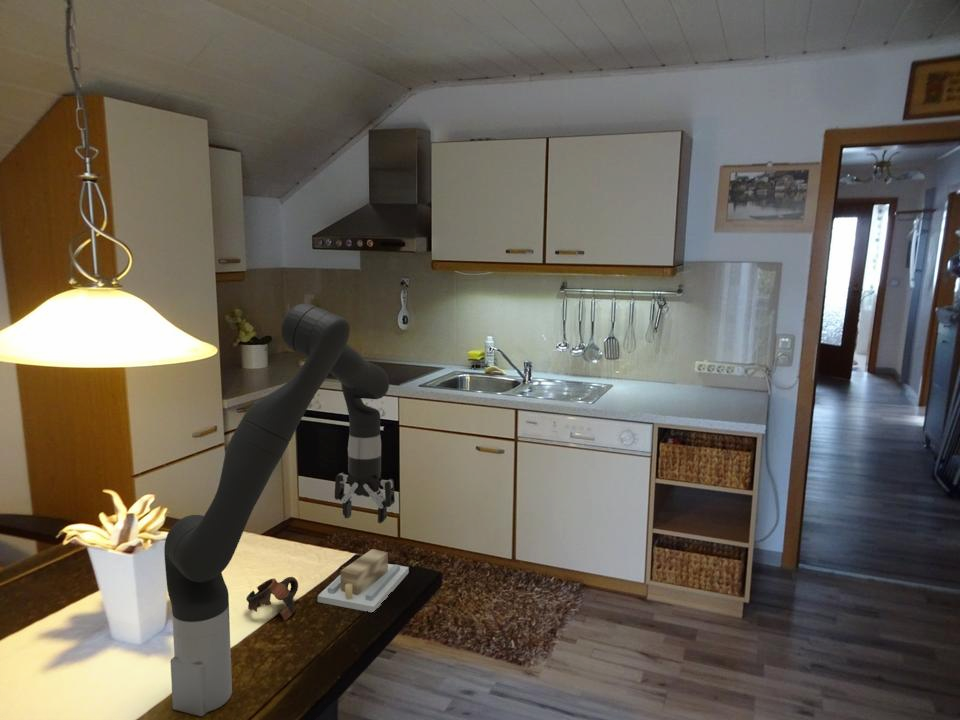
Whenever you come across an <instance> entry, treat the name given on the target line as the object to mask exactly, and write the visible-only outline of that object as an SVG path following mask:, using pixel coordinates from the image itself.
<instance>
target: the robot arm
mask: <svg viewBox="0 0 960 720" xmlns="http://www.w3.org/2000/svg"><path fill="white" fill-rule="evenodd" d="M350 333H351V327H350V323H349V321H348V320H346V319H345V318H344V317H341V316H339V315H337V314H335V313H332V312H330V311H328V310H325V309H323V308H321V307H318V306H315V305H314V304H309V303H299V304H296V305H294V306H293V307H292V308H290V309H289V311H288V312H287V313H286V315H285V316H284V318H283V320H282V322H281V328H280V334H281V335H280V336H281V339H282V342H283V343H284V345H285V346H286V347H287V348H289V349H290V350H291V351H293V352H295V353H298V354H299V355H302V356H305V357H306V360H305V361H304V363H303V365H302V366H301V367H300V368H299V370H298V371H297V372H296V374H295V375H294V376H293V377H292V378H291V379H290V380H289V381H288V382H286V383H285V384H284V385H282V386H281V387H278V388H277V389H276V390H274V391H272V392H271V393H269V394H267V395H266V396H264V397H262V398H261V399H259V400H258V401H256V402H255V403H253V405H251V406H250V407H249V408H248V409H247V410H246V412H245V413H244V414H243V416H242V417H241V418H242V419H241V420H240V422H239V423H238V425H237V427H236V429H235V430H234V432H233V434H232V436H231V438H230V440H229V442H228V444H227V447H226V451H225V454H224V457H223V462H222V463H223V464H222V468H221V473H220V478H219V483H218V487H217V490H216V493H215V495H214V497H213V499H212V502H211V503H210V505H209V507H208V509H207V511H206V512H205V514H204V515H202V514H201V515H200V514H191V515H187V516H184V517H182V518H180V519H179V520H178V521H176V522H175V523H174V524H173V525H172V526H171V528H170V529H169V531H168V532H167V534H166V537H165V542H164V548H163V549H164V551H163V552H164V566H165V577H166V578H165V579H166V580H165V581H166V588H167V593H168V594H167V595H168V597H169V600H170V604H171V614H172V615H171V616H172V634H173V652H174V654H173V655H174V656H173V657H172V658H171V659H170V662H169V663H170V677H171V678H170V680H171V697H172V709H173V710H174V711H179V712H182V713H183V712H184V713H187V714H190V715H194V716H198V717H204V715H206V714H207V713H210V712H212V711H214V710H216V709H218V708H221V707H222V706H223V705H225V704H226V703H228V701H230V700H229V699H231V697H232V694H233V682H232V656H231V655H232V653H231V627H230V624H231V623H230V597H229V590H228V589H229V588H228V586H227V584H226V582H225V580H224V577H223V573H222V572H223V571H224V570H225V569H227V567H228V565H229V564H230V562H231V561H232V558H233V557H234V555H235V552H236V550H237V547H238V545H239V542H240V541H241V538H242V536H243V533H244V531H245V529H246V526H247V523H248V521H249V519H250V517H251V514H252V513H253V509H254V508H255V506H256V505H257V502H258V501H259V500H260V496H261V495H262V494H263V491H264V490H265V488H266V486H267V484H268V482H269V480H270V478H271V477H272V474H273V472H274V470H275V469H276V467H277V465H278V464H279V462H280V460H281V459H282V457H283V456H284V454H285V452H286V449H287V448H288V446H289V444H290V442H291V440H292V438H293V436H294V435H295V432H296V431H297V430H296V429H297V428H298V426H299V425H300V422H301V421H302V419H303V417H304V415H305V413H306V411H307V409H308V407H310V404H311V403H312V401H313V399H314V397H315V396H316V394H317V392H318V391H319V390H320V388H321V386H322V385H323V384H324V382H325V380H326V379H327V377H328V375H329V374H331V375H332V376H333V377H334V378H335V379H337V380H338V382H340V384H341V385H340V386H341V391H342V394H343V398H344V401H345V405H346V409H347V414H348V419H349V428H348V430H349V431H348V433H349V435H348V436H349V437H348V444H347V463H348V464H347V472H348V474H345V473H344V472H343V471H342V472H341V473H338V474H337V475H336V476H335V481H334V482H335V483H334V499H335V500H339V501H340V502H341V504H342V515H343V516H344V519H349V518H350V517H351V516H352V500H351V499H352V498H353V496H354V495H356V496H358V497H359V496H360V497H361V496H364V497H366V498H369V497H370V498H371V499H372V501H373V502H374V503H376V506H378V508H377V523H378V524H382V523H384V522H385V521H386V519H387V514H388V513H387V509H388V508H389V507H391V506H392V505H393V504H394V503H395V502H396V500H395V498H396V497H395V481H394V479H393V478H389V479H383V478H382V476H381V473H382V439H381V413H380V410H378V409H377V408H374V407H371V406H369V405H366V404H364V402H363V400H362V399H365V400H366V399H367V400H368V399H369V400H379V399H381V398H384V397H385V396H386V394H387V393H388V391H389V388H390V379H389V377H388V374H387V372H386V370H384V369H383V368H382V367H380V366H379V365H377V364H374V363H372V362H371V361H367V360H366V359H365V358H364V357H363V356H362V355H361V354H360V353H359V352H358V351H357V350H355V348H353V347H352V346H350V345H348V344H347V343H348V340H349V337H350ZM346 483H348V486H350V487H349V489H348V490H347V491H346V493H345V484H346ZM380 487H383V488H382V489H383V490H384V493H383V491H382V489H381V488H380ZM384 495H385V496H384Z"/></svg>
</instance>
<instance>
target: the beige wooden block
mask: <svg viewBox="0 0 960 720" xmlns="http://www.w3.org/2000/svg"><path fill="white" fill-rule="evenodd" d="M388 564H389V552H387V551H383V550H378V549H375V548H372V549H370V550H369V551H367V552H366V553H364V554H363V555H361V556H360V557H359V558H357V559H355V560H354V561H353V562H351V563H349V564H348V565H347V566H345V567H344V568H343V569H341V570H340V575H341V591H343V592H345V585H346V584H352V594H354V595H358V594H360V593H361V592H362V591H364V590H365V589H366V588H367V587H369V586H370V585H371V584H373V583H374V582H375V581H377V580H378V579H379V578H380V577H382V576H383V575H384V574H386V573H387V572H388Z"/></svg>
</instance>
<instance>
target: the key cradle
mask: <svg viewBox="0 0 960 720" xmlns="http://www.w3.org/2000/svg"><path fill="white" fill-rule="evenodd" d="M409 569H410V567H409V566H404V565H400V564H396V563H395V564H391V563H388V572H387V573H386V574H384V575H383V576H382V577H380V578H379V579H378V580H377V581H375V582H374V583H373V584H371V585H370V586H369V587H367V588H366V589H365V590H364V591H362V592H361V593H360V594H358V595H354V594H352V584H346V585H345V592H343V591H341V574H340V575H338V576H337V577H336V578H335V579H334V580H332V582H331V583H330V584H328V586H326V588H325V589H323V590H322V591H321V592H319V594H318V595H317V602H318V603H321V604H325V605H326V604H327V605H330V606H337V607H341V608H347V609H353V610H357V611H362V612H367V611H368V613H372V612H374V611H375V610H376V609H377V608H378V609H379V607H381V606H382V604H383V603H384V602H385V601H386V599H387V598H388V597H389V596H390V595H391V594H392V593H393V592H394V591H395V590H396V588H397V587H398V585H400V584H401V582H402V581H403V580H404V579H405V578H406V577H407V576H408V574H409V572H410V571H409ZM391 592H392V593H391ZM390 593H391V594H390ZM389 594H390V595H389ZM388 595H389V596H388ZM384 600H385V601H384ZM383 601H384V602H383ZM382 602H383V603H382ZM381 603H382V604H381ZM378 609H377V610H378ZM377 610H376V611H377ZM376 611H375V612H376ZM375 612H374V613H375Z"/></svg>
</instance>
